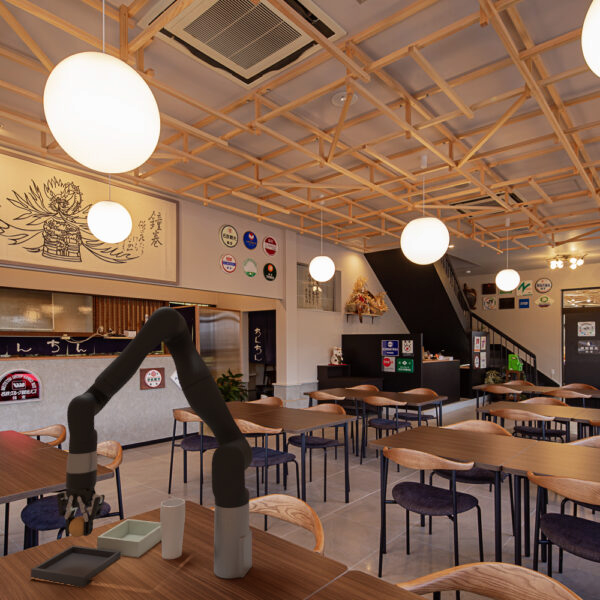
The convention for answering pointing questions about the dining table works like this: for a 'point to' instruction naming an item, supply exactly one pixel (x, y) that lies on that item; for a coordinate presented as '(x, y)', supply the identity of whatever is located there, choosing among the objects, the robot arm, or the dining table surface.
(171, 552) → the drinking glass
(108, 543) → the open box
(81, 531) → the ball
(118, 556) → the tray
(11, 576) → the dining table surface
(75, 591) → the dining table surface
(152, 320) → the robot arm
